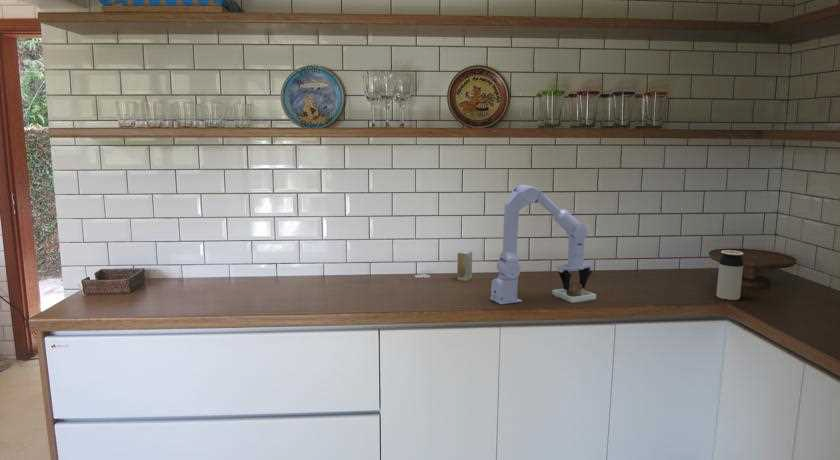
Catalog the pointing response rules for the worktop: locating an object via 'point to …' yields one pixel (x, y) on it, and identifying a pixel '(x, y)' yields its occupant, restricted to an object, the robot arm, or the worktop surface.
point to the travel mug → (730, 275)
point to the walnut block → (574, 289)
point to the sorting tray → (585, 297)
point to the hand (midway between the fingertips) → (574, 288)
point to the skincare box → (464, 265)
